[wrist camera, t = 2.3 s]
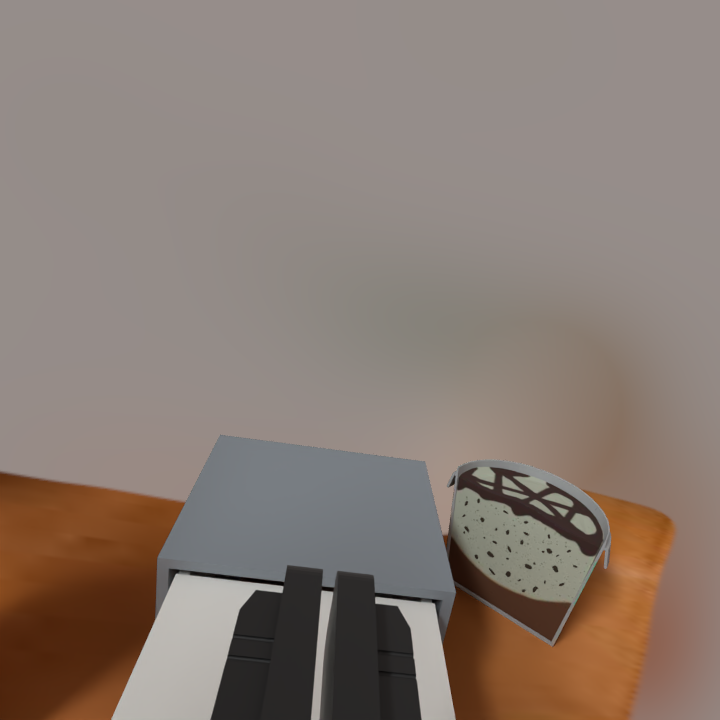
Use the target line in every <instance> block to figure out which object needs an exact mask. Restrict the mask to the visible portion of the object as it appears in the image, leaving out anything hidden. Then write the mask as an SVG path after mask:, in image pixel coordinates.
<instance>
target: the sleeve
mask: <svg viewBox="0 0 720 720" xmlns="http://www.w3.org/2000/svg"><path fill="white" fill-rule="evenodd" d="M287 565H292V566H301V567H309V568H318V569H323V579H322V586H325V587H334V586H335V580H336V574H337V571H344V572H353V573H361V574H370V575H373V576H374V584H375V592H377V593H385V594H394V595H402V596H411V597H420V598H428V599H432V603H433V604H435V608H436V614H437V619H438V625H439V630H440V636H441V641H442V645H443V641H444V637H445V633H446V629H447V626H448V622H449V618H450V614H451V610H452V606H453V603H454V599H455V595H456V590H455V586H454V582H453V578H452V573H451V569H450V565H449V561H448V557H447V552H446V548H445V544H444V540H443V535H442V531H441V527H440V523H439V519H438V514H437V510H436V506H435V502H434V497H433V493H432V489H431V485H430V480H429V476H428V472H427V468H426V464H425V462H424V461H416V460H408V459H401V458H393V457H386V456H377V455H370V454H363V453H355V452H347V451H339V450H332V449H325V448H317V447H309V446H302V445H294V444H286V443H278V442H271V441H263V440H256V439H248V438H239V437H232V436H225V435H220V436H219V438H218V440H217V442H216V444H215V446H214V448H213V450H212V452H211V454H210V456H209V458H208V460H207V462H206V464H205V465H204V467H203V470H202V471H201V473H200V475H199V477H198V479H197V481H196V483H195V485H194V487H193V489H192V491H191V493H190V495H189V497H188V499H187V501H186V503H185V505H184V507H183V509H182V511H181V513H180V515H179V516H178V518H177V520H176V522H175V524H174V526H173V528H172V530H171V532H170V534H169V536H168V538H167V540H166V542H165V544H164V546H163V548H162V550H161V552H160V554H159V556H158V558H157V585H156V614H155V620H156V618H157V615H158V613H159V611H160V609H161V606H162V604H163V602H164V600H165V597H166V595H167V593H168V591H169V588H170V586H171V584H172V582H173V579H174V577H175V575H176V574H178V573H179V571H180V570H188V571H196V572H205V573H213V574H222V575H231V576H239V577H248V578H256V579H265V580H274V581H282V582H284V580H285V575H286V569H287Z"/></svg>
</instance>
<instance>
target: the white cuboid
mask: <svg viewBox="0 0 720 720" xmlns="http://www.w3.org/2000/svg"><path fill="white" fill-rule="evenodd" d="M283 586H284V582H282V581H274V580H265V579H256V578H248V577H239V576H231V575H222V574H213V573H205V572H196V571H188V570H180V571H179V573H178V574H176V575H175V577H174V579H173V582H172V584H171V586H170V588H169V591H168V593H167V595H166V597H165V600H164V602H163V604H162V606H161V609H160V611H159V613H158V615H157V618H156V620H155V622H154V624H153V627H152V629H151V631H150V633H149V636H148V638H147V640H146V642H145V645H144V647H143V649H142V651H141V654H140V656H139V658H138V660H137V663H136V665H135V667H134V669H133V672H132V674H131V676H130V678H129V681H128V683H127V685H126V687H125V690H124V692H123V694H122V696H121V699H120V701H119V703H118V705H117V708H116V710H115V712H114V714H113V717H112V719H111V720H210V719H211V716H212V712H213V708H214V704H215V701H216V697H217V693H218V689H219V685H220V682H221V678H222V674H223V670H224V666H225V663H226V660H227V656H228V651H229V648H230V644H231V640H232V638H233V632H234V629H235V625H236V621H237V617H238V614H239V610H240V608H241V607H242V606H243V605H244V604H245V602H246V601H247V600H248V599H249V598H250V596H251V595H252V594H253V593H254V592H255V590H261V591H270V592H279V593H282V592H283ZM333 592H334V587H325V586H322V591H321V603H320V616H319V628H318V640H317V652H316V665H315V677H314V689H313V701H312V714H311V720H319V719H320V704H321V689H322V674H323V660H324V650H325V641H326V634H327V627H328V621H329V615H330V609H331V603H332V597H333ZM375 604H384V605H393V606H398V608H399V609H400V611H401V613H402V614H403V616H404V618H405V620H406V621H407V623H408V625H409V626H410V628H411V635H412V643H413V652H414V655H413V659H414V660H415V669H416V680H417V685H418V694H419V702H420V710H421V719H422V720H456V718H455V713H454V707H453V702H452V696H451V691H450V685H449V680H448V674H447V669H446V663H445V658H444V652H443V647H442V641H441V636H440V630H439V625H438V619H437V614H436V608H435V604H433V603H432V599H428V598H420V597H411V596H402V595H394V594H385V593H377V592H375Z"/></svg>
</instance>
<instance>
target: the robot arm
mask: <svg viewBox="0 0 720 720" xmlns="http://www.w3.org/2000/svg"><path fill="white" fill-rule="evenodd" d="M322 579H323V569H318V568H309V567H301V566H292V565H287V569H286V575H285V580H284V586H283V592H282V593H279V592H270V591H261V590H255V592H254V593H253V594H252V595H251V596H250V598H249V599H248V600H247V601H246V602H245V604H244V605H243V606H242V607H241V608H240V610H239V614H238V617H237V621H236V625H235V629H234V632H233V638H232V640H231V644H230V648H229V651H228V656H227V660H226V663H225V666H224V670H223V674H222V678H221V682H220V685H219V689H218V693H217V697H216V701H215V704H214V708H213V712H212V716H211V719H210V720H311V714H312V701H313V689H314V677H315V665H316V652H317V640H318V628H319V616H320V603H321V591H322ZM413 655H414V652H413V643H412V635H411V628H410V626H409V625H408V623H407V621H406V620H405V618H404V616H403V614H402V613H401V611H400V609H399V608H398V606H393V605H384V604H375V584H374V576H373V575H370V574H361V573H353V572H344V571H337V574H336V580H335V586H334V592H333V597H332V603H331V609H330V615H329V621H328V627H327V634H326V641H325V650H324V660H323V674H322V689H321V704H320V719H319V720H422V719H421V710H420V702H419V694H418V685H417V680H416V669H415V660H414V659H413Z"/></svg>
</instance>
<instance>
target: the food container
mask: <svg viewBox="0 0 720 720" xmlns="http://www.w3.org/2000/svg"><path fill="white" fill-rule="evenodd" d="M454 484H455V485H454ZM452 485H454V494H453V501H452V509H451V517H450V525H449V533H448V540H447V548H446V552H447V557H448V561H449V565H450V569H451V573H452V578H453V582H454V585H455V586H457V587H458V588H460V589H461V590H463V591H465V592H466V593H468V594H469V595H471V596H473V597H474V598H476V599H477V600H479V601H481V602H482V603H484V604H485V605H487V606H489V607H490V608H492V609H493V610H495V611H497V612H498V613H500V614H501V615H503V616H504V617H506V618H508V619H509V620H511V621H512V622H514V623H516V624H517V625H519V626H520V627H522V628H524V629H525V630H527V631H528V632H530V633H532V634H533V635H535V636H536V637H538V638H539V639H541V640H543V641H544V642H546V643H547V644H549V645H551V646H552V647H553V646H554V644H555V642H556V640H557V638H558V636H559V634H560V632H561V630H562V628H563V626H564V625H565V623H566V621H567V619H568V617H569V615H570V613H571V611H572V609H573V607H574V605H575V603H576V602H577V600H578V598H579V596H580V594H581V592H582V590H583V588H584V586H585V584H586V582H587V580H588V579H589V577H590V575H591V573H592V571H593V569H594V567H595V565H596V563H597V561H598V559H599V557H600V556H601V554H602V552H603V550H605V561H604V568H605V569H607V566H608V563H609V556H610V546H611V534H610V526H609V522H608V519H607V517H606V515H605V513H604V512H603V511H602V509H601V508H600V507H599V505H598V504H597V503H596V502H595V501H594V500H593V499H592V498H591V497H589V496H588V495H587V494H586V493H584V492H583V491H582V490H580V489H579V488H577V487H576V486H574V485H573V484H571V483H569V482H568V481H566V480H564V479H562V478H560V477H558V476H556V475H554V474H551V473H549V472H546V471H544V470H541V469H538V468H535V467H532V466H529V465H525V464H521V463H516V462H511V461H504V460H477V461H471V462H468V463H465V464H462V465H460V466H458V468H457V471H455V472H454V473H453V474H452V476H451V479H450V480H449V483H448V485H447V487H450V486H452Z"/></svg>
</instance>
